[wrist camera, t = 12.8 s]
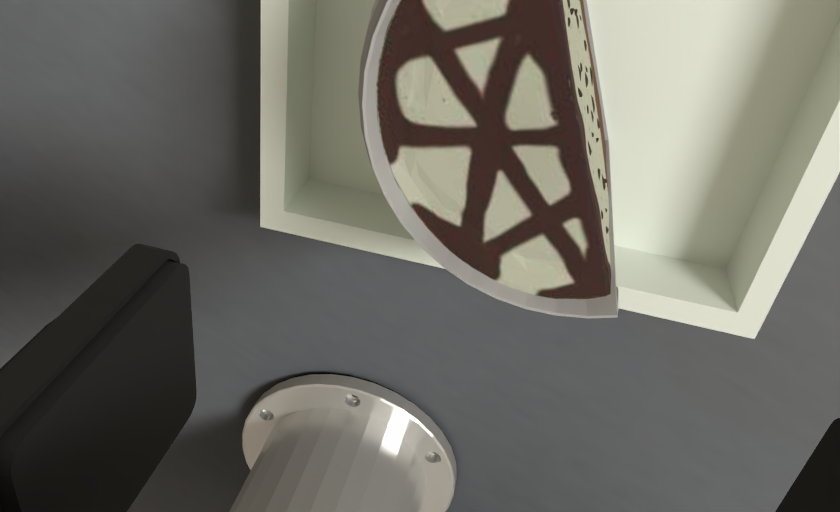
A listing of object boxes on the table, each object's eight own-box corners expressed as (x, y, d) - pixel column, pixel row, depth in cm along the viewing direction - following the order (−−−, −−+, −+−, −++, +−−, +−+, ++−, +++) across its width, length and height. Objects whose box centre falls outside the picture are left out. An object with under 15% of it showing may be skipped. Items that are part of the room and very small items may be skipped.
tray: (738, 280, 31) (754, 338, 28) (294, 183, 33) (260, 226, 30) (969, -218, 21) (1039, -220, 18) (310, -313, 23) (261, -331, 20)
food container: (379, -117, 25) (267, -72, 16) (559, -173, 23) (536, -154, 14) (465, 200, 30) (414, 350, 22) (614, 177, 28) (620, 332, 20)
